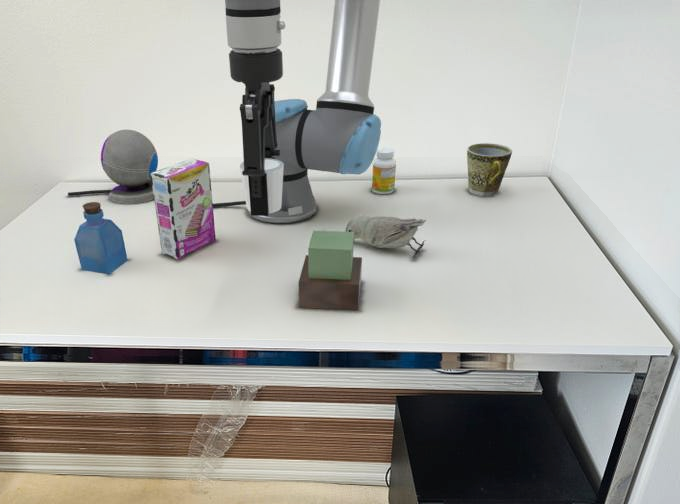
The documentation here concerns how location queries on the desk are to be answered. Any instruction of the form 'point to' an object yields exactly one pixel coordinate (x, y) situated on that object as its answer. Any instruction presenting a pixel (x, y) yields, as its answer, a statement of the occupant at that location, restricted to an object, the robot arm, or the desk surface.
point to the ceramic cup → (486, 167)
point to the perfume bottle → (99, 242)
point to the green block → (330, 255)
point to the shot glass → (268, 184)
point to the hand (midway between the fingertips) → (264, 205)
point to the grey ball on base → (129, 166)
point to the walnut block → (330, 289)
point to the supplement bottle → (384, 171)
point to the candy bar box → (184, 207)
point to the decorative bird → (385, 231)
